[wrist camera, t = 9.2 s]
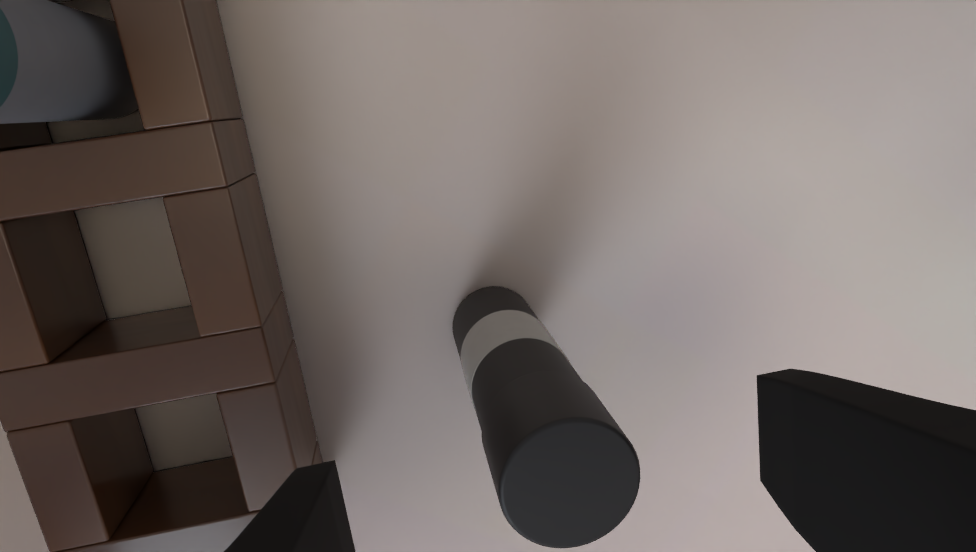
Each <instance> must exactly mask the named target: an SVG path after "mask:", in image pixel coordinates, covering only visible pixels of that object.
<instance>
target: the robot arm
mask: <svg viewBox="0 0 976 552" xmlns="http://www.w3.org/2000/svg"><path fill="white" fill-rule="evenodd" d="M757 395H758V424H759V453H760V481H761V482H762V483H763V485H764V486H765V488H766V489H767V491H768V492H769V494H770V495H771V497H772V498H773V499H774V501H775V502H776V504H777V505H778V507H779V508H780V509H781V511H782V512H783V513H784V515H785V516H786V517H787V519H788V520H789V522H790V523H791V524H792V526H793V527H794V528H795V529H796V531H797V532H798V533H799V534H800V535H801V536H802V537H803V538H804V539H805V540H806V542H807V543H808V544H809V545H810V546H811V547H812V548H813V549H814V550H815V551H816V552H976V410H971V409H967V408H962V407H957V406H953V405H948V404H944V403H940V402H935V401H931V400H927V399H923V398H919V397H914V396H910V395H906V394H902V393H898V392H894V391H890V390H886V389H882V388H878V387H874V386H870V385H866V384H862V383H858V382H854V381H850V380H846V379H842V378H838V377H834V376H829V375H825V374H820V373H815V372H810V371H804V370H796V369H787V370H782V371H777V372H772V373H767V374H762V375H757ZM224 552H355V548H354V543H353V539H352V534H351V530H350V525H349V521H348V517H347V512H346V508H345V503H344V499H343V494H342V490H341V485H340V481H339V477H338V472H337V468H336V463H335V460H334V461H329V462H325V463H320V464H315V465H310V466H305V467H300V468H296V469H295V470H294V471H293V472H292V473H291V474H290V476H289V477H288V478H287V479H286V480H285V481H284V483H283V484H282V485H281V486H280V487H279V489H278V490H277V491H276V492H275V493H274V495H273V496H272V497H271V498H270V499H269V501H268V502H267V503H266V504H265V505H264V507H263V508H262V509H261V510H260V511H259V512H258V514H257V515H256V516H255V517H254V518H253V519H252V521H251V522H250V523H249V524H248V525H247V526H246V528H245V529H244V530H243V531H242V532H241V533H240V535H239V536H238V537H237V538H236V539H235V540H234V541H233V542H232V544H231V545H230V546H229V547H228V548H227V549H226V550H225V551H224Z"/></svg>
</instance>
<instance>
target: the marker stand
mask: <svg viewBox="0 0 976 552" xmlns="http://www.w3.org/2000/svg"><path fill="white" fill-rule="evenodd" d="M48 1H51V2H60V1H69V0H48ZM109 2H110V5H111V9H112V13H113V16H114V20H115V24H116V27H117V31H118V35H119V39H120V42H121V46H122V50H123V53H124V57H125V61H126V64H127V68H128V72H129V75H130V79H131V83H132V86H133V90H134V94H135V98H136V101H137V105H138V109H139V112H140V116H141V120H142V123H143V127H144V129H145V130H146V131H139V132H132V133H125V134H118V135H111V136H104V137H97V138H90V139H83V140H76V141H69V142H62V143H55V144H52V141H51V138H50V135H49V132H48V128H47V125H46V122H29V123H7V124H0V421H1V424H2V426H3V429H4V431H5V432H7V438H8V441H9V444H10V446H11V449H12V452H13V455H14V457H15V460H16V463H17V465H18V468H19V471H20V473H21V476H22V479H23V482H24V484H25V487H26V490H27V492H28V495H29V498H30V501H31V503H32V506H33V509H34V511H35V514H36V517H37V520H38V522H39V525H40V528H41V530H42V533H43V536H44V538H45V541H46V544H47V547H48V549H49V551H50V552H224V551H225V550H226V549H227V548H228V547H229V546H230V545H231V544H232V542H233V541H234V540H235V539H236V538H237V537H238V536H239V535H240V533H241V532H242V531H243V530H244V529H245V528H246V526H247V525H248V524H249V523H250V522H251V521H252V519H253V518H254V517H255V516H256V515H257V514H258V512H259V511H260V510H261V509H262V508H263V507H264V505H265V504H266V503H267V502H268V501H269V499H270V498H271V497H272V496H273V495H274V493H275V492H276V491H277V490H278V489H279V487H280V486H281V485H282V484H283V483H284V481H285V480H286V479H287V478H288V477H289V476H290V474H291V473H292V472H293V471H294V470H295V469H296V468H300V467H305V466H310V465H315V464H320V463H323V461H322V457H321V453H320V448H319V444H318V441H316V440H317V436H316V432H315V428H314V423H313V419H312V415H311V410H310V406H309V402H308V397H307V393H306V389H305V384H304V380H303V376H302V371H301V367H300V363H299V358H298V354H297V350H296V345H295V341H294V339H293V332H292V327H291V323H290V319H289V314H288V310H287V306H286V301H285V297H284V293H283V291H282V284H281V279H280V275H279V271H278V266H277V262H276V258H275V253H274V249H273V245H272V240H271V236H270V232H269V227H268V223H267V219H266V214H265V210H264V206H263V201H262V197H261V193H260V188H259V184H258V180H257V175H256V174H255V167H254V163H253V158H252V154H251V150H250V146H249V141H248V137H247V133H246V128H245V124H244V121H243V119H241V118H242V116H243V115H242V111H241V107H240V102H239V98H238V94H237V89H236V85H235V81H234V76H233V72H232V68H231V63H230V59H229V55H228V50H227V46H226V42H225V37H224V33H223V29H222V24H221V20H220V16H219V11H218V7H217V3H216V0H109ZM164 196H165V197H164ZM158 197H163V202H164V206H165V209H166V213H167V217H168V220H169V224H170V228H171V231H172V235H173V239H174V243H175V246H176V250H177V254H178V257H179V261H180V265H181V268H182V272H183V276H184V279H185V283H186V287H187V291H188V294H189V298H190V302H191V305H192V306H187V307H182V308H176V309H170V310H164V311H158V312H152V313H146V314H141V315H135V316H129V317H123V318H117V319H111V320H106V315H105V312H104V309H103V306H102V302H101V299H100V296H99V293H98V289H97V286H96V283H95V280H94V276H93V273H92V270H91V267H90V263H89V260H88V257H87V254H86V250H85V247H84V244H83V241H82V238H81V234H80V231H79V228H78V225H77V221H76V218H75V215H74V212H73V210H79V209H86V208H93V207H99V206H106V205H112V204H119V203H125V202H132V201H138V200H145V199H151V198H158ZM105 320H106V321H105ZM213 393H217V399H218V403H219V407H220V411H221V414H222V418H223V422H224V425H225V429H226V433H227V436H228V440H229V444H230V447H231V451H232V455H233V457H229V458H224V459H219V460H214V461H209V462H204V463H199V464H193V465H188V466H183V467H178V468H173V469H168V470H163V471H158V472H153V468H152V465H151V462H150V458H149V455H148V452H147V449H146V445H145V442H144V439H143V436H142V432H141V429H140V426H139V423H138V420H137V416H136V413H135V410H134V408H137V407H143V406H148V405H153V404H159V403H164V402H170V401H175V400H180V399H186V398H191V397H197V396H202V395H207V394H213ZM152 472H153V473H152Z"/></svg>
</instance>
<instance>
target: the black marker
mask: <svg viewBox="0 0 976 552" xmlns="http://www.w3.org/2000/svg"><path fill="white" fill-rule="evenodd" d="M453 335H454V339H455V342H456V346H457V349H458V353H459V356H460V359H461V365H462V369H463V372H464V376H465V379H466V383H467V386H468V390H469V393H470V396H471V400H472V403H473V406H474V408H475V410H476V414H477V417H478V420H479V424H480V427H481V430H482V442H483V447H484V450H485V454H486V457H487V461H488V464H489V468H490V471H491V475H492V478H493V482H494V485H495V489H496V492H497V496H498V499H499V503H500V506H501V509H502V511H503V514H504V516H505V517H506V519H507V521H508V522H509V524H510V525H511V526H512V527H513V528H514V529H515V530H516V531H517V532H518V533H519V534H520V535H522V536H523V537H525V538H526V539H528V540H530V541H532V542H534V543H536V544H539V545H542V546H546V547H552V548H571V547H577V546H581V545H585V544H588V543H591V542H593V541H596V540H597V539H599V538H601V537H603V536H605V535H606V534H607V533H609V532H610V531H612V530H613V529H614V528H615V527H616V526H617V525H618V524H619V523H620V522H621V521H622V520H623V519H624V518H625V516H626V515H627V514H628V512H629V511H630V509H631V507H632V505H633V504H634V501H635V499H636V496H637V493H638V489H639V483H640V466H639V460H638V457H637V454H636V451H635V449H634V447H633V445H632V444H631V442H630V441H629V440H628V438H627V437H626V435H625V434H624V433H623V431H622V430H621V429H620V427H619V426H618V424H617V423H616V422H615V420H614V419H613V418H612V416H611V415H610V413H609V412H608V411H607V409H606V408H605V407H604V405H603V404H602V403H601V401H600V400H599V398H598V397H597V396H596V394H595V393H594V392H593V390H592V389H591V388H590V387H589V386H588V385H587V384H586V383H584V382H583V381H582V379H581V378H580V377H579V375H578V374H577V372H576V371H575V370H574V368H573V367H572V366H571V364H570V362H569V360H568V358H567V357H566V356H565V354H564V353H563V351H562V350H561V349H560V347H559V346H558V344H557V343H556V342H555V340H554V339H553V337H552V336H551V335H550V333H549V332H548V331H547V329H546V328H545V326H544V325H543V324H542V323H541V322H540V321H539V319H538V318H537V317H536V315H535V314H534V312H533V311H532V310H531V308H530V307H529V306H528V304H527V303H526V301H525V300H524V299H523V298H522V297H521V296H520V295H519V294H517V293H516V292H514V291H512V290H510V289H507V288H504V287H494V286H493V287H486V288H482V289H479V290H477V291H475V292H473V293H471V294H470V295H469V296H467V297H466V298H465V299H464V300H463V301H462V302H461V304H460V305H459V307H458V308H457V310H456V312H455V315H454V319H453Z"/></svg>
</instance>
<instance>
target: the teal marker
mask: <svg viewBox="0 0 976 552" xmlns="http://www.w3.org/2000/svg"><path fill="white" fill-rule="evenodd" d="M137 109H138V105H137V101H136V98H135V94H134V90H133V86H132V83H131V79H130V75H129V72H128V68H127V64H126V61H125V57H124V53H123V50H122V46H121V42H120V39H119V35H118V31H117V27H116V24H115V21H112V20H109V19H105V18H102V17H99V16H96V15H93V14H89V13H86V12H83V11H80V10H77V9H74V8H70V7H67V6H64V5H61V4H58V3H54V2H51V1H48V0H0V124H7V123H29V122H52V121H74V120H96V119H115V118H120V117H124V116H126V115H129V114H131V113H133V112H134V111H135V110H137Z"/></svg>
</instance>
